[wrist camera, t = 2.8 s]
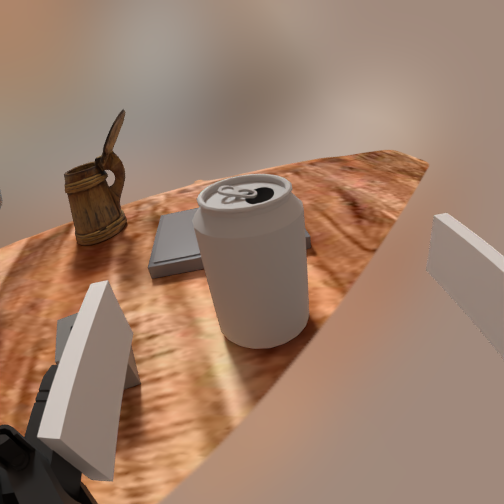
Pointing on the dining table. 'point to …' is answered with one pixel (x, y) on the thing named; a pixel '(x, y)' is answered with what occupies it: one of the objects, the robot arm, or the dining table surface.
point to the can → (254, 258)
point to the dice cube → (62, 337)
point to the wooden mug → (97, 193)
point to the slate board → (179, 245)
